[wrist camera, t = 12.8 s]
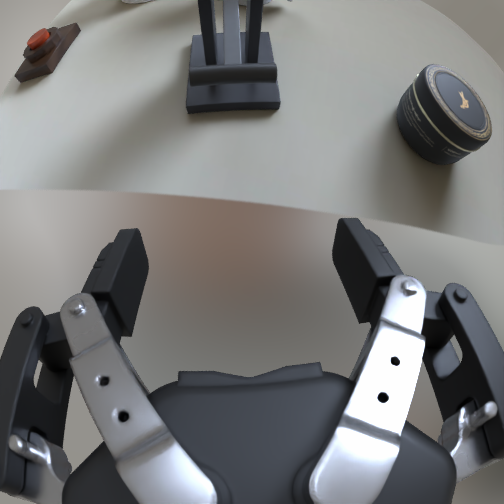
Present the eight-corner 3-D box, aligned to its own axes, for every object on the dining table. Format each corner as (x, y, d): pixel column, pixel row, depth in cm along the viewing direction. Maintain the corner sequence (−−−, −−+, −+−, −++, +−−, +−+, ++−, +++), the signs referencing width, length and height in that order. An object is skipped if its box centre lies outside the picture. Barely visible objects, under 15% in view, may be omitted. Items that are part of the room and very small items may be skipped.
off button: (42, 47, 22) (37, 40, 20) (27, 53, 22) (23, 46, 20) (54, 32, 22) (49, 25, 21) (39, 38, 22) (34, 31, 21)
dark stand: (279, 109, 25) (304, -4, 11) (187, 114, 25) (158, 2, 11) (267, 39, 26) (279, -51, 13) (193, 42, 26) (180, -48, 12)
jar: (444, 109, 26) (474, 79, 19) (463, 176, 25) (504, 153, 18) (383, 90, 26) (410, 50, 19) (401, 162, 25) (442, 128, 17)
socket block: (52, 72, 25) (40, 57, 21) (20, 82, 25) (8, 70, 21) (81, 30, 26) (72, 15, 23) (48, 41, 26) (39, 28, 22)
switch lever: (274, 89, 17) (279, 74, 14) (192, 93, 16) (187, 78, 14) (262, -19, 15) (265, -36, 12) (197, -16, 14) (195, -33, 12)
